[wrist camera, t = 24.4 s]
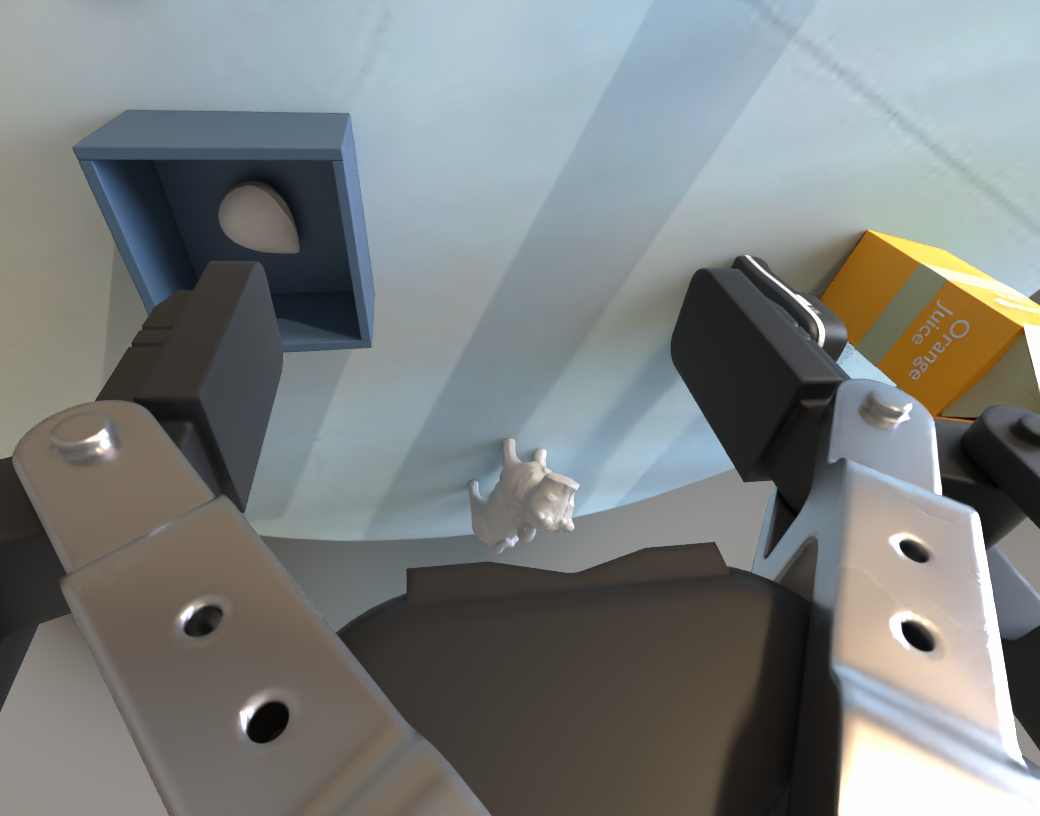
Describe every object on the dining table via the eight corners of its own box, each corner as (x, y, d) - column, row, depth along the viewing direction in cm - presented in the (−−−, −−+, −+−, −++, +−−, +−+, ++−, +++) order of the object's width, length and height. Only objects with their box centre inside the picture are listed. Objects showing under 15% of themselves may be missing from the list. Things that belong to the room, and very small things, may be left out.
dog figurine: (571, 425, 53) (603, 511, 45) (502, 505, 59) (520, 593, 51) (526, 408, 50) (552, 496, 42) (459, 493, 56) (471, 584, 48)
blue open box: (70, 146, 25) (168, 359, 33) (341, 148, 27) (372, 348, 35) (126, 109, 30) (198, 300, 38) (350, 113, 32) (374, 293, 40)
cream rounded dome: (254, 161, 32) (246, 175, 30) (323, 223, 35) (319, 239, 33) (210, 208, 33) (199, 225, 32) (280, 264, 37) (274, 282, 35)
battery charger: (741, 327, 48) (815, 411, 40) (703, 325, 47) (771, 411, 39) (776, 253, 44) (869, 331, 35) (735, 250, 43) (819, 328, 34)
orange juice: (883, 324, 51) (1084, 485, 36) (810, 310, 48) (995, 477, 33) (945, 247, 46) (1205, 395, 31) (868, 227, 44) (1112, 378, 29)
